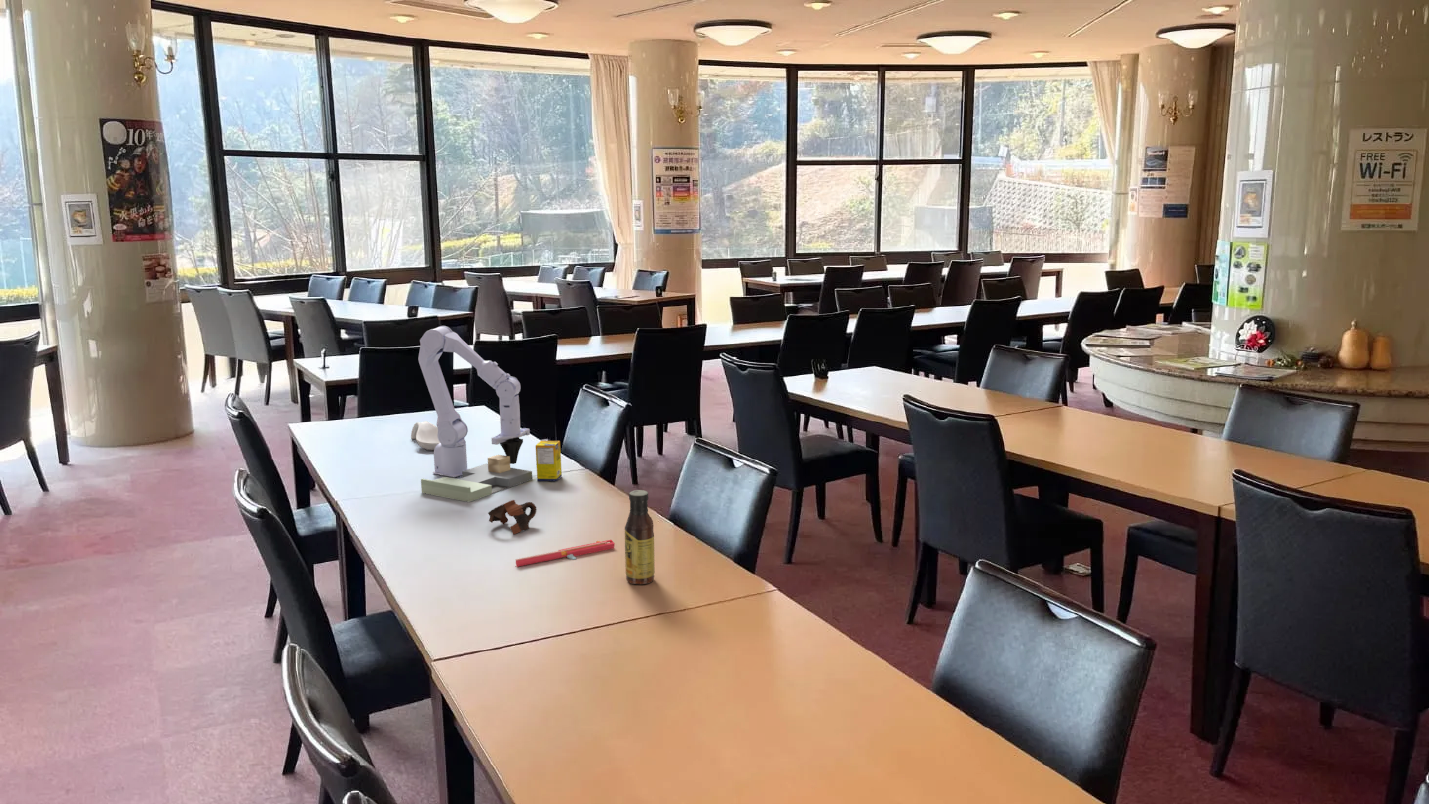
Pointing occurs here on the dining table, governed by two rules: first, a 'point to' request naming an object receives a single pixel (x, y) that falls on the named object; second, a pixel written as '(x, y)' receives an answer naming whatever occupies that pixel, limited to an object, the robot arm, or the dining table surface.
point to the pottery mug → (514, 515)
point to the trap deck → (475, 483)
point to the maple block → (499, 463)
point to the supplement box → (548, 460)
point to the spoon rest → (425, 435)
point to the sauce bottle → (639, 540)
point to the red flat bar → (567, 553)
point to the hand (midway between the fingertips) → (512, 463)
